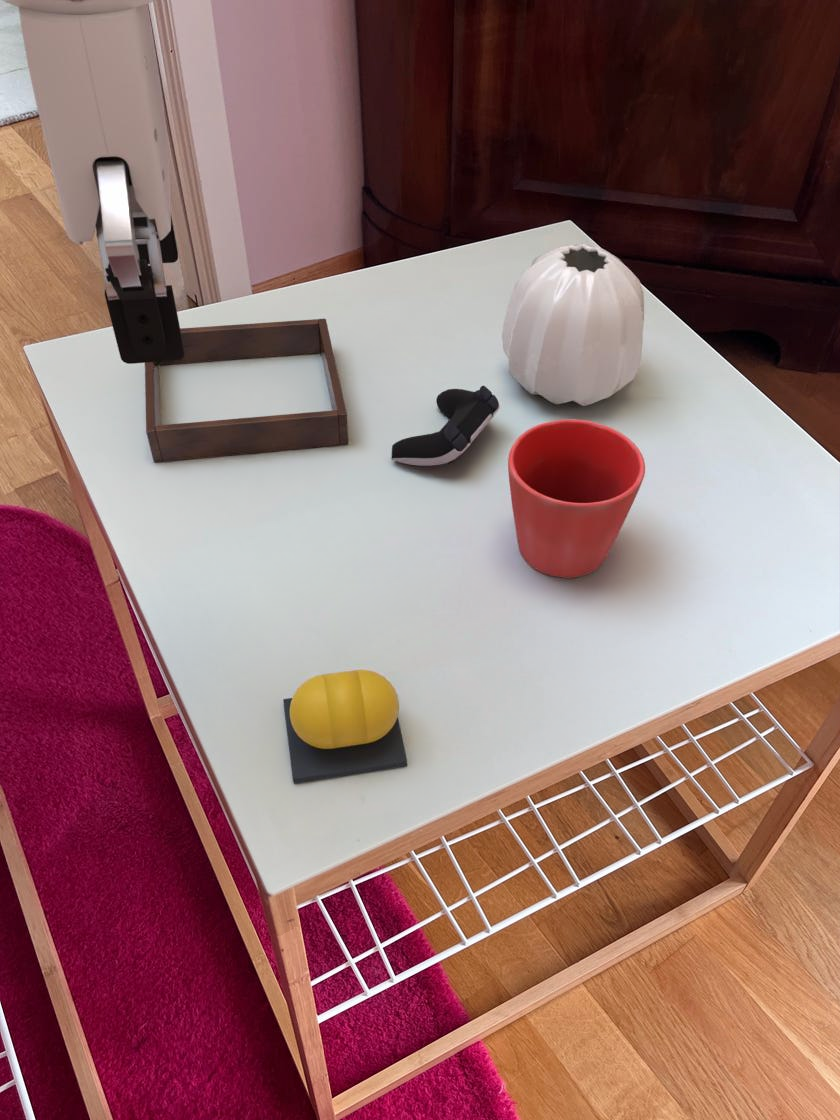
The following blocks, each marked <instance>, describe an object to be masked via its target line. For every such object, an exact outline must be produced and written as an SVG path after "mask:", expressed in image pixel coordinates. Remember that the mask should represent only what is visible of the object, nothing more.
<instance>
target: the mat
mask: <svg viewBox="0 0 840 1120" xmlns="http://www.w3.org/2000/svg"><path fill="white" fill-rule="evenodd" d="M292 698H293V697H289V698H283V700H282V702H283V709H284V717H285V725H286V734H287V742H288V750H289V758H290V767H291V774H292V783H293V784H300V783H306V782H307V783H308V782H312V781H319V780H326V779H331V778H338V777H344V776H351V775H358V774H363V773H371V772H376V771H382V770H389V769H395V768H400V767H407V766H408V758H407V754H406V749H405V745H404V739H403V735H402V731H401V730H402V729H401V725H400V721H399V715H398V716H397V719H396V722H395V724H394V725H393V727H392V729H391V730H390V731H389V732H388V733H387V734H386V735H385V736H383V737H382V738H381V739H378V740H376V741H374V742H370V743H366V744H360V745H353V746H346V747H340V748H333V749H322V748H317V747H314V746H311V745H309V744H308V743H306V742H304V741H303V740H302V739H301V738H300V737H299V736H298V735H297V733H296V732H295V730H294V728H293V726H292V724H291V719H290V705H291V701H292Z"/></svg>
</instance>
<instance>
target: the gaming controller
mask: <svg viewBox="0 0 840 1120" xmlns="http://www.w3.org/2000/svg"><path fill="white" fill-rule="evenodd" d="M436 405H437V409H438V410H439V411H440V412H441V413H442V414H444V415H445V416H448V417H449V420H448V421H447V422H446V423H445V424H444V425H443V427H441V429H440V430H439V431H436V432H433V433H427V434H422V435H415V436H409V437H406V438H403V439H399V440H398V441H395V442H394V444H392V445H391V457H390V458H391V461H395V462H397V463H401V464H406V465H411V466H423V467H425V466H437V465H439V466H440V465H445V464H447V465H450V464H452V463H454V461H455V460H456V459H458V458H460V457H461V456H462V455H463V453H464V452H465V451H466V450H467V449H469V447H470V445H471V444H472V443H473V442H474V441H475V440H476V438H477V437H478V436H479V434H481V432H482V431H483V430H484V428H485V427H486V426H487V425H488V424H489V423H490V421H491V420H492V419H493V418H494V417H495V416H496V415H497V413H498V412H499V410H500V409H501V407H500V403H499V400H498V398H497V397H496V395H495V394H493V392H492V391H491V390H490V389H489V388H488V387H487V386H485V385H481V386H480V387H479V389H478V390H475V391H473V390H467V389H461V388H449V389H446V390H443V391H442V392H440V393H439V394H438V395H437V396H436Z"/></svg>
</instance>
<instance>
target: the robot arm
mask: <svg viewBox="0 0 840 1120" xmlns="http://www.w3.org/2000/svg"><path fill="white" fill-rule="evenodd" d="M2 1H3V2H5V3H7V4H9V5H12V6H15V7H18V13H19V20H20V27H21V33H22V40H23V45H24V50H25V56H26V62H27V65H28V71H29V76H30V81H31V85H32V86H31V87H32V91H33V95H34V100H35V104H36V109H37V113H38V117H39V118H38V119H39V122H40V126H41V130H42V135H43V138H44V143H45V147H46V152H47V155H48V160H49V164H50V169H51V173H52V178H53V182H54V185H55V190H56V193H57V194H56V195H57V198H58V204H59V207H60V212H61V217H62V220H63V226H64V230H65V234H66V236H67V238H68V239H69V240H70V241H71V242H73V243H74V244H76V245H77V246H78V245H84V242H93V241H94V236H95V235H96V239H97V242H98V249H99V250H98V251H99V254H100V262H101V269H102V274H103V280H104V287H105V289H104V298H105V302H106V305H107V309H108V314H109V318H110V322H111V326H112V330H113V335H114V338H115V342H116V346H117V350H118V353H119V357H120V359H121V361H122V362H123V363H124V364H127V365H131V364H132V365H134V364H145V363H148V362H161V361H175V360H181V359H182V358H183V357H184V346H183V340H182V335H181V330H180V328H181V327H180V326H181V325H180V320H179V314H178V311H177V310H178V309H177V304H176V300H175V295H174V289H173V285H172V284H170V285H169V284H167V283H166V276H165V270H164V269H165V268H164V264H173V263H176V262H177V261H178V259H179V250H178V245H177V239H176V234H175V229H174V222H173V217H172V213H171V173H170V171H171V170H170V153H169V142H168V141H169V140H168V132H167V123H166V122H167V121H166V113H165V104H164V98H163V91H162V84H161V78H160V72H159V66H158V65H159V64H158V59H157V52H156V45H155V40H154V33H153V28H152V27H153V26H152V21H151V16H150V9H149V4H151V3H154V2H156V0H2ZM95 232H96V234H95Z"/></svg>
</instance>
